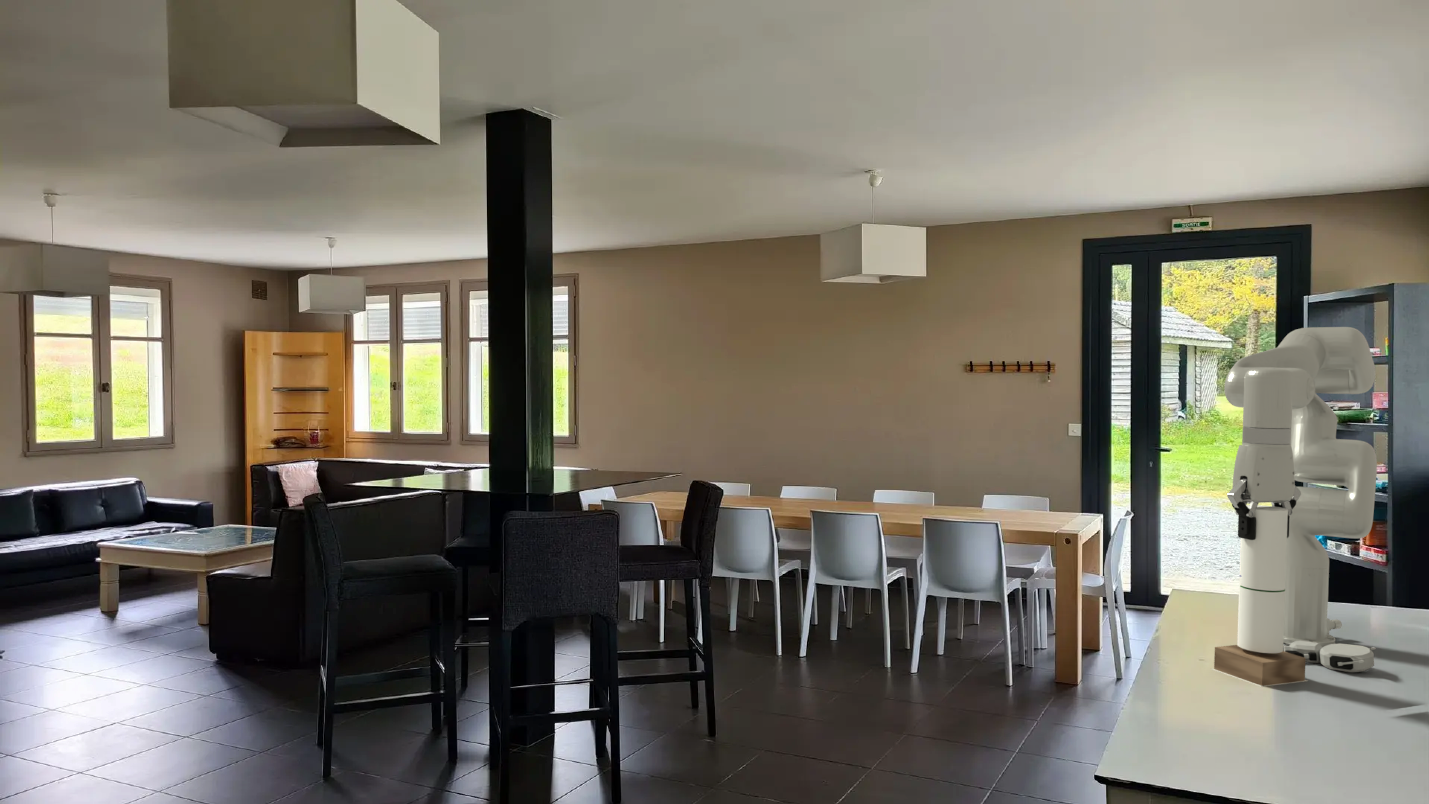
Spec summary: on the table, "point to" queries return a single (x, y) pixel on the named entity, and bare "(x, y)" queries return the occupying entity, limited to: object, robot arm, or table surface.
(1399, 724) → the table surface
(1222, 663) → the plinth
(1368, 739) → the table surface
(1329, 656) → the robot toy
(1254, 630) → the cylindrical container
